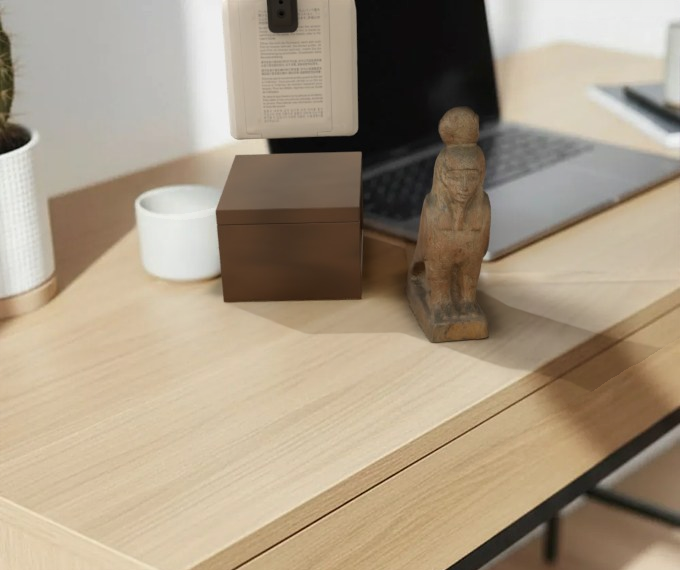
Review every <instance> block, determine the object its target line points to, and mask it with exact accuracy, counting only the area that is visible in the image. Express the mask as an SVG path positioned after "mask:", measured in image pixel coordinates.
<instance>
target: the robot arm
mask: <svg viewBox="0 0 680 570" xmlns="http://www.w3.org/2000/svg"><path fill="white" fill-rule="evenodd" d="M267 15H268V28H269V30H270V31H271V32H272V33H293V32H295V31H296V30H297V28H298V6H297V0H267Z"/></svg>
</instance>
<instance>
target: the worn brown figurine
mask: <svg viewBox="0 0 680 570" xmlns="http://www.w3.org/2000/svg"><path fill="white" fill-rule="evenodd" d="M479 123H480V116H479V115H478V113H475V111H474V110H473V109H472V108H471V107H469V106H466V105H465V106H454V107H451V108H450V109H448V110H447V111H446V112H445V113H444V114H443V116H442V118H440V120H439V121H438V126H437V128H438V129H437V131H438V134H439V137H440V139H441V141H442V142H443V143H444V145H445V146H444V147H443V148H441V150H440V152H439V153H438V155H437V156H436V160H435V162H434V166H433V167H434V168H433V178H432V186H431V189H430V192H428V193H427V194H426V195H425V197H424V199H423V204H422V208H421V209H422V210H421V212H420V213H421V214H420V220H419V227H418V235H417V240H416V245H415V249H414V254H413V258H412V260H411V262H410V264H409V266H408V269H407V273H406V275H407V276H406V283H405V286H404V291H405V294H406V297H407V300H408V302H409V308H410V310H411V311H412V313H413V315H414V317H415V318H416V321H417V322H418V326H420V328H421V329H422V330H423V333H424V334H425V337H426V338H427V340H429V342H431V343H440V342H454V341H466V340H479V339H486V338H489V335H490V334H489V331H488V318H487V316H486V315H485V312H484V310H483V309H482V307H481V306H480V304H479V302H478V300H477V298H476V297H477V296H476V295H477V289H478V282H479V278H480V274H481V269H482V265H483V259H484V258H485V256H486V255H487V253H488V250H489V245H490V237H491V236H490V235H491V227H492V226H491V225H492V206H491V200H490V196H489V194H488V193H487V191H484V184H485V178H486V171H487V170H486V169H487V166H486V158H485V154H484V151H483V149H482V148H481V147H480V146H479V145H478V141H479V137H480V124H479Z"/></svg>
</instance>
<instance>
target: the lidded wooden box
mask: <svg viewBox="0 0 680 570" xmlns="http://www.w3.org/2000/svg"><path fill="white" fill-rule="evenodd" d="M363 185H364V184H363V152H362V151H336V152H332V151H331V152H298V153H297V152H295V153H294V152H293V153H259V154H258V153H257V154H255V153H254V154H235V156H234V159H233V161H232V164H231V167H230V169H229V172H228V175H227V177H226V180H225V184H224V186H223V189H222V192H221V194H220V197H219V200H218V202H217V206H216V208H215V221H216V233H217V243H218V244H217V245H218V253H219V255H218V256H219V266H220V275H221V276H220V277H221V287H222V300H223V302H224V303H235V302H237V303H238V302H241V303H242V302H243V303H244V302H245V303H246V302H285V301H287V302H289V301H291V302H292V301H293V302H295V301H332V300H333V301H338V300H362V297H363V296H362V294H363V293H362V292H363V265H364V237H365V236H364V235H365V233H364V232H365V231H364V192H363V191H364V190H363V189H364V188H363Z"/></svg>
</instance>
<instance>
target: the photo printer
mask: <svg viewBox="0 0 680 570" xmlns="http://www.w3.org/2000/svg"><path fill="white" fill-rule="evenodd" d="M221 2H222V3H221V19H222V20H221V21H222V22H221V23H222V35H223V51H224V63H225V65H224V66H225V78H226V79H225V80H226V94H227V106H228V107H227V108H228V122H229V135H230V136H231V137H232V138H233V139H234V140H237V141H243V140H264V139H293V138H314V137H315V138H316V137H317V138H318V137H319V138H320V137H351V136H354V135H355V134H356V133H358V130H359V101H358V99H359V96H358V93H359V92H358V40H357V39H358V36H357V35H358V33H357V7H356V1H355V0H297V6H298V28H297V30H296V31H295V32H293V33H272V32H271V31H270V30H269V28H268V15H267V0H222V1H221Z"/></svg>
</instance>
